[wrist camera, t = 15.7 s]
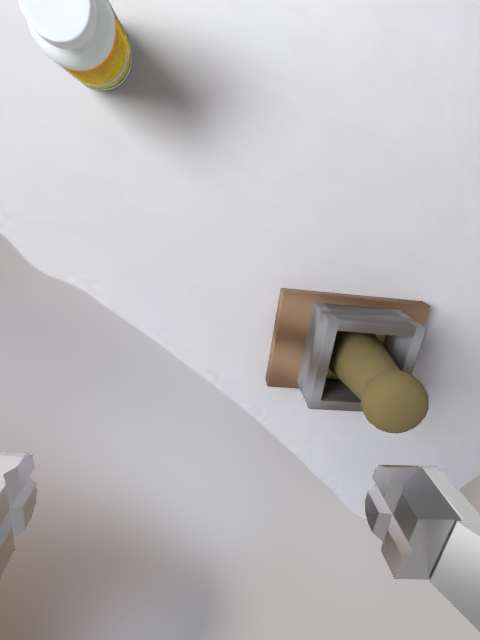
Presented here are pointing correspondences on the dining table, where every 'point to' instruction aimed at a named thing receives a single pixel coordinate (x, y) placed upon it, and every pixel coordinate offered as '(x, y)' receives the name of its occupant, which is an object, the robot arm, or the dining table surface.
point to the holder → (319, 336)
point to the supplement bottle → (81, 39)
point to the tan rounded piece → (378, 382)
